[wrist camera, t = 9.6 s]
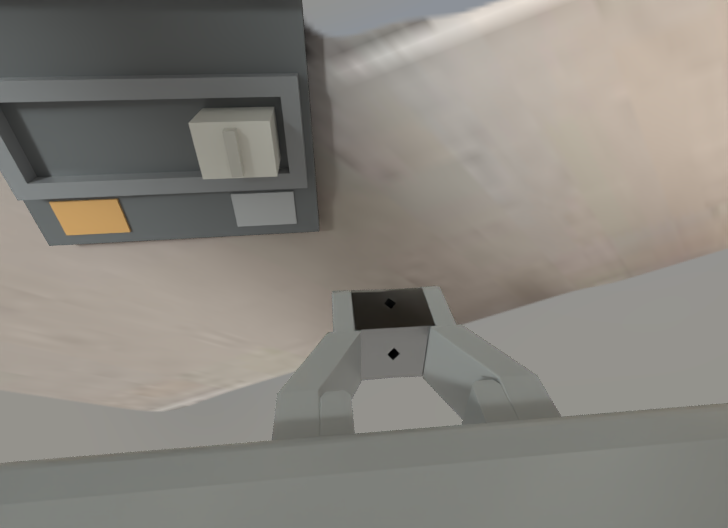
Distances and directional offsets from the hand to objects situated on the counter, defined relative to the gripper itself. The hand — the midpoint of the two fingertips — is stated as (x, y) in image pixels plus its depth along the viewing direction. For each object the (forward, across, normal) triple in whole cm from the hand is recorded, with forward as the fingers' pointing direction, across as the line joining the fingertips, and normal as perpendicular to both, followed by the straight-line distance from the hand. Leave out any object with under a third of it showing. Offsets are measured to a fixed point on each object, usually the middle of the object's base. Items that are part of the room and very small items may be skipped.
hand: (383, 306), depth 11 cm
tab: (+15, +6, -1) cm, 17 cm away
